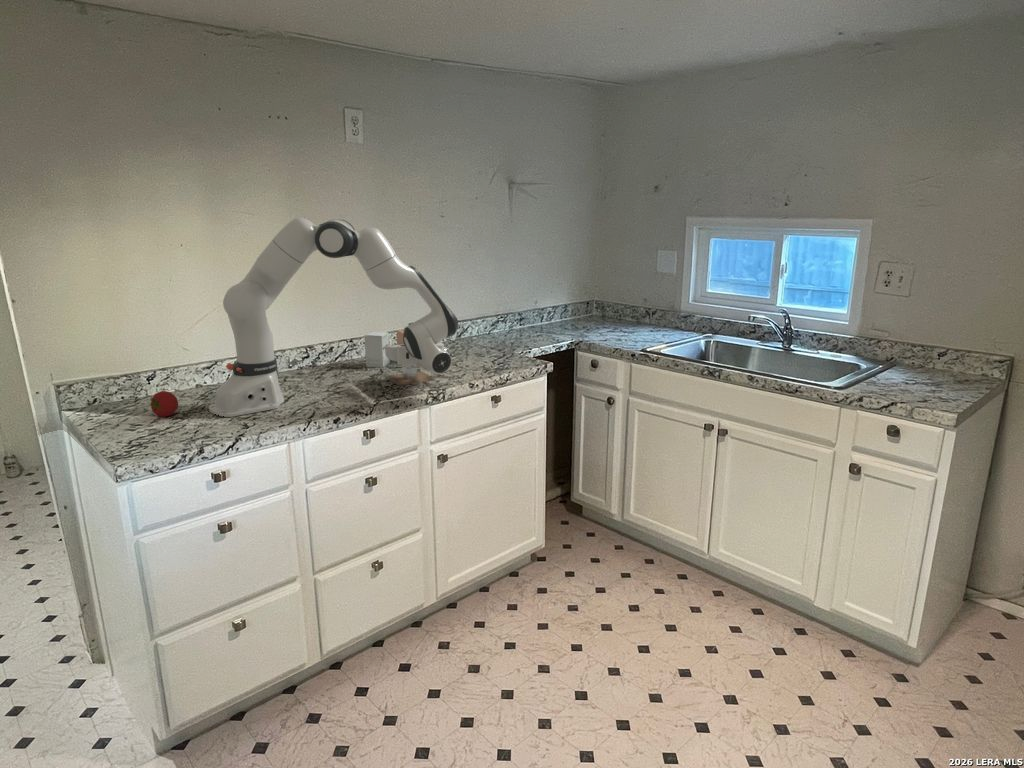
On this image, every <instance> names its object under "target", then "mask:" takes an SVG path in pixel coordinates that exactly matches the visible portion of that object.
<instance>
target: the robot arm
mask: <svg viewBox="0 0 1024 768" xmlns="http://www.w3.org/2000/svg"><path fill="white" fill-rule="evenodd" d="M316 251H319V253H320V254H322V255H323V256H325V257H327V258H330V259H341V258H343V257H344V258H345V257H350V256H354V257H355V258H356V260H358V262H359V263H360V265H361V267H362V269H363V270H364V271H365V272H364V273H365V274H366V276H367V277H368V278H369V281H371V283H372V285H374V286H375V287H377V288H379V289H383V290H396V289H398V290H399V289H404V288H409V289H412V290H415V291H416V293H418V294H419V296H420V297H421V298H422V300H423V301H424V302H425V303H426V304H427V306H428V307H429V308H430V312H429V313H427V314H426V315H423V316H422V317H421V318H419V319H417V320H416V321H413V322H414V323H412V322H411V323H412V324H410V325H406V326H405V327H404V328H405V329H404V333H403V342H404V344H397V343H396V344H393V345H389V346H386V347H385V354H386V357H387V358H389V359H390V361H393V362H397V365H399V366H411V365H413V366H415V367H420V368H421V369H424V370H425V371H427V372H430V373H432V374H437V375H438V374H439V375H440V374H443V373H445V372H446V371H448V369H449V368H450V366H451V365H452V356H450V355H449V354H450V353H449V352H448V350H449V348H448V347H447V346H445V344H444V343H443V342H442V341H444V340H445V339H448V338H450V337H452V336H454V335H456V333H457V332H458V331H457V330H458V329H459V328H458V327H459V320H458V318H457V316H456V314H455V313H454V312H453V311H452V310H451V309H450V308H449V306H448V305H446V303H445V302H444V301H443V300H442V298H441V297H440V296H439V294H438V293H437V292H436V291H435V289H434V288H433V287H432V285H431V284H430V283H429V282H428V280H427V279H426V278H425V277H424V275H423V274H422V273H421V272H420V271H419V270H418V269H417V268H416V267H414V266H413V265H408V264H406V263H404V262H403V261H402V260H401V259H400V258H399V257H398V254H397V253H396V252H395V249H394V248H393V246H392V244H390V242H389V240H388V239H387V238H386V236H385V235H384V233H382V232H381V230H380V229H378V228H376V227H366V228H363V229H361V230H356V229H355V227H354V226H353V225H352V224H351V223H350V222H348V220H344V219H341V218H340V219H339V218H338V219H337V218H335V219H329V220H327V221H325V222H323V223H320V224H318V225H317V224H315V223H313V222H312V221H310V220H309V219H307V218H303V217H299V216H298V217H295V218H293V219H291V220H290V221H289V222H288V223H287V224H286V225H284V227H283V228H281V230H279V231H278V232H277V234H275V236H274V237H273V239H271V241H270V242H269V243H268V244H267V245H266V247H265V248H264V249H263V250H262V252H261V253H260V254H259V256H258V257H257V258H256V260H255V262H254V263H253V265H252V267H251V268H250V269H249V271H248V273H247V274H246V275H245V277H244V278H243V279H242V280H241V281H240V282H238V283H236V284H234V285H232V286H231V287H229V289H228V290H226V292H225V295H224V297H223V300H222V305H223V309H224V311H225V312H226V314H227V316H228V320H229V323H230V326H231V330H232V332H233V336H234V343H235V345H234V346H235V350H236V351H235V352H236V359H237V360H236V362H235V363H234V364H233V363H230V362H228V363H227V364H226V366H225V368H226V369H227V370H229V371H232V375H230V377H228V378H227V380H225V381H224V382H223V384H221V385H220V386H219V387H218V388H217V389H216V393H215V403H213V404H210V405H209V406H208V411H209V412H210V413H211V414H213V415H215V414H216V415H215V416H218V415H219V416H220V417H223V416H224V417H225V418H226V417H227V418H231V417H232V418H233V417H237V416H242V415H243V416H244V415H248V414H252V413H259V412H264V411H269V410H275V409H278V408H279V407H280V405H281V404H283V403H284V402H285V397H284V395H283V393H282V390H281V389H282V388H281V386H280V382H279V379H278V378H279V377H278V372H279V371H278V362H277V358H276V357H275V348H274V337H273V333H272V331H271V328H270V325H269V322H268V317H267V313H266V312H267V310H268V309H269V308H270V307H271V306H272V304H273V303H274V302H275V300H277V298H278V297H279V295H280V294H281V292H282V291H283V290H284V288H285V287H286V285H287V284H288V283H289V282H290V280H291V279H292V278H293V277H294V275H296V273H297V272H298V271H299V270H300V268H301V267H302V266H303V264H304V263H305V262H306V261H307V259H308V258H309V257H310V256H311V255H312V254H313V253H314V252H316Z"/></svg>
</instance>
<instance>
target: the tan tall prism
mask: <svg viewBox="0 0 1024 768" xmlns="http://www.w3.org/2000/svg"><path fill="white" fill-rule="evenodd" d="M404 329H405V327H404ZM404 329H403V328H402V329H396V344H404V342H403V333H404Z"/></svg>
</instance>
